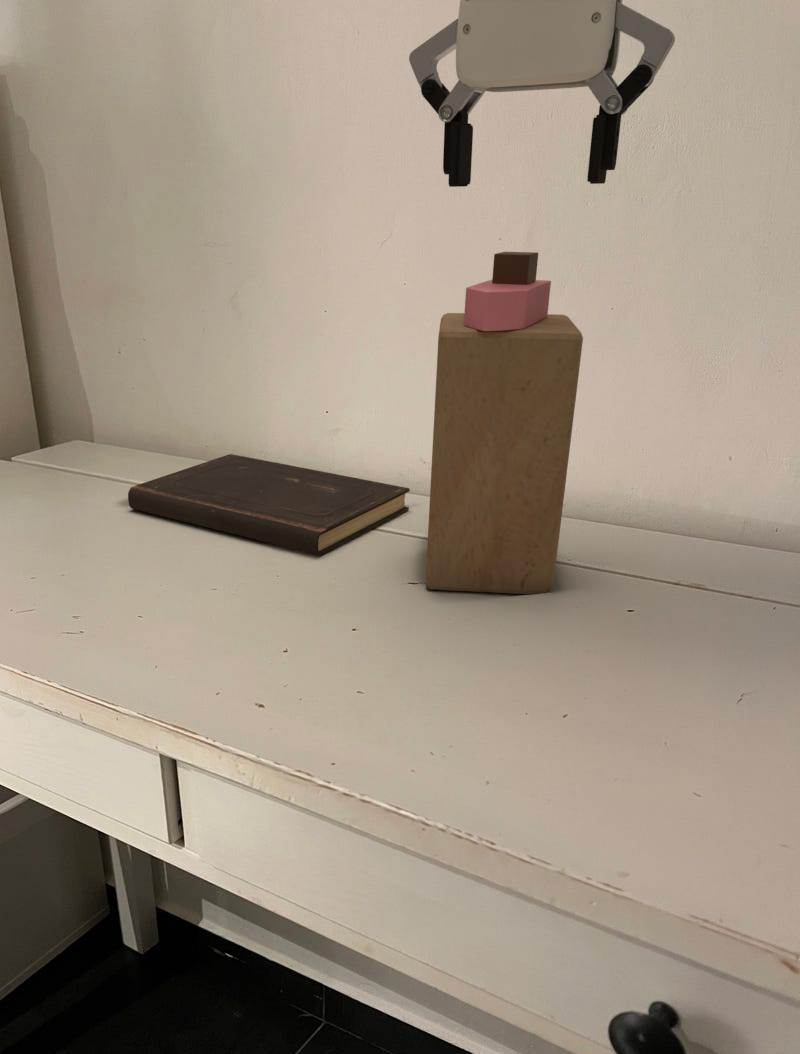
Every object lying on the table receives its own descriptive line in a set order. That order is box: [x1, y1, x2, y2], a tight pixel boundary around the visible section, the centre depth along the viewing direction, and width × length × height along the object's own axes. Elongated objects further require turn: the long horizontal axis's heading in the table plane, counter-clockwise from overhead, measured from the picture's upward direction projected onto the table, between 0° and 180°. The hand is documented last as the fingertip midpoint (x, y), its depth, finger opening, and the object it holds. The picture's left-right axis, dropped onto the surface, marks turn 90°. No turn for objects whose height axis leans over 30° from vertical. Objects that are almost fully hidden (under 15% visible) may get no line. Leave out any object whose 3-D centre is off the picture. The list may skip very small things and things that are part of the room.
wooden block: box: [424, 312, 584, 595], centre depth 72 cm, size 10×10×20 cm
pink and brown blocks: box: [463, 251, 552, 331], centre depth 66 cm, size 10×4×5 cm, turn 155°
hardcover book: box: [127, 453, 411, 557], centre depth 91 cm, size 16×23×2 cm
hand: (525, 184), depth 64 cm, fingers open, 9 cm apart
